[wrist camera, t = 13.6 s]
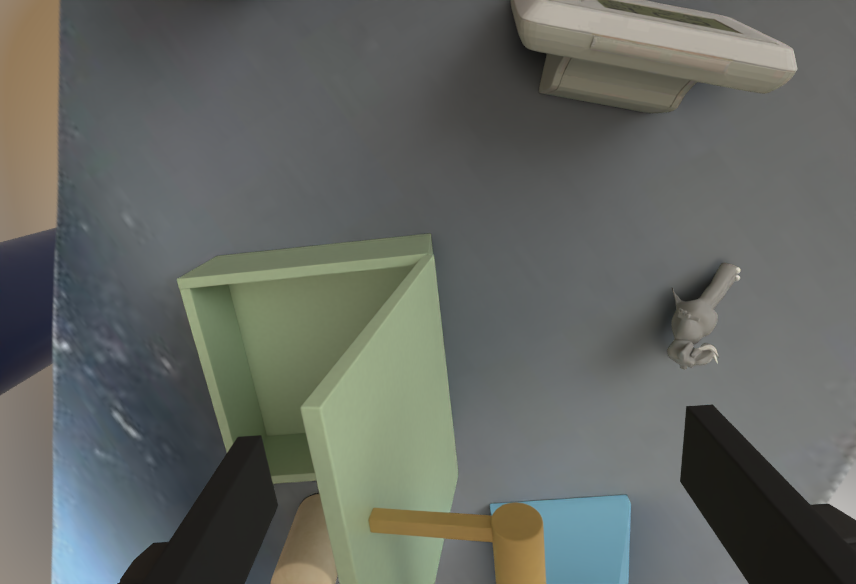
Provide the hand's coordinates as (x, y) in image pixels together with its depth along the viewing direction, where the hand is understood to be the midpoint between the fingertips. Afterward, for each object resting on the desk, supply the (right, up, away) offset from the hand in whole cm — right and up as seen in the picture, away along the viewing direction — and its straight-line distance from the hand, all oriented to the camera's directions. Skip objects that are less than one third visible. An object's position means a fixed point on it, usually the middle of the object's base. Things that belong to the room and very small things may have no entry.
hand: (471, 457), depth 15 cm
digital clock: (+12, +24, +21) cm, 34 cm away
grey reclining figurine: (+20, +4, +27) cm, 34 cm away
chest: (-9, 0, +29) cm, 31 cm away
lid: (-3, -4, +13) cm, 14 cm away
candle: (-12, -18, +36) cm, 42 cm away
